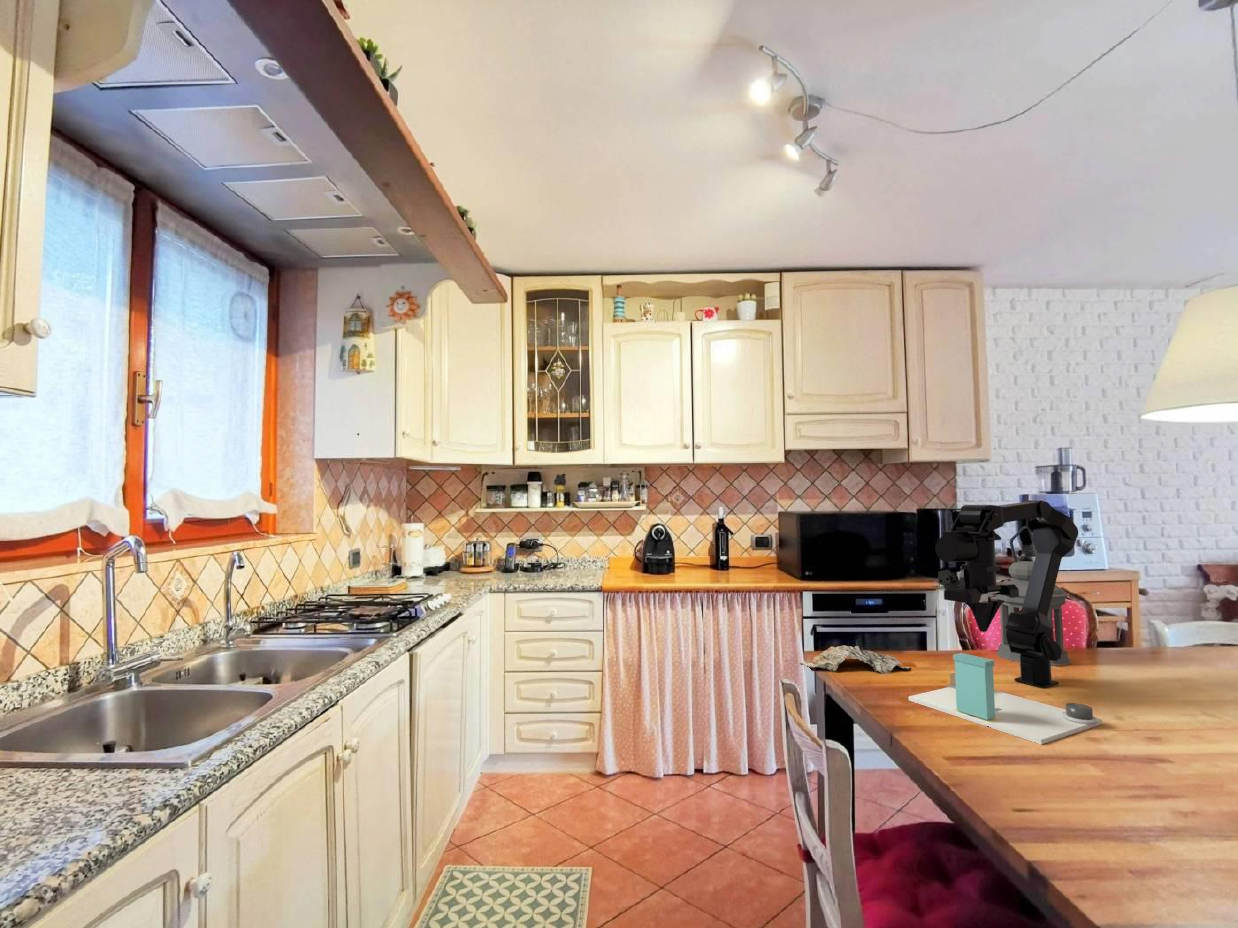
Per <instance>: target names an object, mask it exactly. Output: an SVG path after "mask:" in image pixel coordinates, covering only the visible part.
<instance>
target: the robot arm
mask: <svg viewBox="0 0 1238 928" xmlns="http://www.w3.org/2000/svg"><path fill="white" fill-rule="evenodd" d="M1039 518H1040V519H1039ZM1038 519H1039V520H1038ZM1022 520H1025V526H1026V527H1027V528H1028V529H1029V530H1030V531H1031V535H1032V536H1031V542H1032V545H1033V546H1034V549H1035V551H1036V553H1035V557H1034V561H1033V562H1034V564H1033V568H1032V572H1031V576H1030V579H1029V583H1028V587H1027V591H1026V595H1025V599H1024V603H1023V607H1022V608H1020V611H1019V612H1017V613H1013V612H1011V613H1010V615H1009V618H1008V623H1007V625H1006V627H1005V629H1007V630H1006V638H1007V641H1008V644H1009V648H1010V651H1011V652H1013V653H1018V654H1020V663H1019V664H1020V665H1019V666H1020V676H1019V677H1015V678H1014V680H1013V681H1015V682H1018V683H1021V682H1022V684H1025V683H1026V685H1030V686H1034V687H1037V688H1038V687H1039V688H1042V689H1046V688H1049V687H1053V686H1054V687H1055V686H1057V685H1060V681H1057V680H1053V678H1052V667H1051V661H1058V659H1060V658H1061V653H1062V649H1061V648H1060V647H1059V646H1058V644H1057V643H1056V642H1055V638H1054V639H1053V638H1052V632H1054V628H1053V629H1052V626H1051V624H1050V622H1049V619H1048V611H1049V607H1050V603H1051V599H1052V595H1053V591H1054V587H1055V585H1056V583H1057V579H1058V574H1059V570H1060V566H1061V563H1062V559H1063V558H1064V557H1065V556H1066V555H1068V554H1069V553H1070V552H1071V551H1072V550H1073V549H1074V546H1075V544H1076V541H1077V538H1078V537H1079V529H1078V527H1077V525H1076V524H1075V523H1074V522H1073V521H1072V520H1071V518H1070V517H1069V516H1068V515H1066V514H1065V513H1063V512H1061V511H1059V510H1057V509H1055V508H1053V506H1052V505H1051V504H1050V503H1049V502H1048V501H1045V500H1042V499H1041V500H1039V499H1037V500H1034V499H1033V500H1025V501H1021V502H1014V503H1008V504H1007V503H1006V504H1001V505H1000V504H999V505H997V504H995V505H994V504H964V505H962V506H961V508H960V510H959V512H958V514H957V516H956V518H955V519H954V522H953V524H952V525H951V528H950V530H942V536H941V537H940V538H938V539H937V541H936V544H935V546H934V550H935V553H936V555H937V557H938V559H939V560H940V561H942V562H944V563H958V562H959V563H962V562H963V563H964V562H965V564H961V565H960V568H959V569H960V570H959V571H957V572H956V571H955V572H951V571H950V570H949V569H945V570H944V569H943V570H940V571H938V574H937V575H938V576H937V582H938V584H939V585H940V586H943V588H944V589H943V600H945V601H951V602H957V603H963V604H965V605H967V607H969V608H970V610H971V612H972V615H973V618H974V620H975V622H976V625H977V627H978V630H979V632H982V633H986V632H988V629H989V628H990V625H991V624H992V621H993V620H994V619H995V617H996V614H997V612H999V610H1000V606H1001V604H1002V603H1004V600H998V596H996V595H998V594H1000V595H1006V596H1009V597H1010V598H1015V597H1019V589H1018V588H1017V587H1016V586H1015V585H1014V584H1007V583H1004V582H997V572H999V571H1001V566H1000V565H996V546H995V543H996V542H995V541H1001V540H1002V537H1001V536H1000V535H999V534H998V533H997V532H996V531H995V530H998V529H1000V528H1002V527H1004V524H1007V523H1011V522H1016V521H1017V522H1018V521H1022ZM1027 528H1026V529H1027ZM1028 529H1027V530H1028ZM1029 530H1028V531H1029ZM1030 531H1029V532H1030Z"/></svg>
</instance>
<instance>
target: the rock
mask: <svg viewBox="0 0 1238 928" xmlns="http://www.w3.org/2000/svg"><path fill="white" fill-rule="evenodd" d="M846 658H850V659H854V660H855V659H858V661H861V662H863V663H865V664H868V665H869V666H871V667H872V668H873V670H874V671H875V672H879V673H880V674H882V675H884V674H886V675H888V674H891V672H892V670H893V668H898V669H907V670H909V669H910V666H902V662H901V661H900V660H898V659H897V658H896V657H894V656H893V655H888V654H881V653H877V652H876V651H872V650H864V649H860V646H858V645H856V646H851V645H850V646H847V645H840V646H836V647H835V646H830V647H828V648H827V649H825V650H824V651H822V652H821V653H820V654H818V655H816V656H814V657H813V659H812V660H811V661H812V662H808V661H806V660H802V661H801V662H799V665H800V666H805V667H808V668H811V669H812V668H813V669H814V668H821V669H824V670H825V669H826V670H828V671H830V672H831V673H836V674H837V673H838V671H837V670H838V667H839V665H840V664H841V663H842V662H845V661H846ZM813 662H814V663H813Z"/></svg>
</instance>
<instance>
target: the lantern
mask: <svg viewBox="0 0 1238 928" xmlns="http://www.w3.org/2000/svg"><path fill="white" fill-rule="evenodd" d="M1026 529H1027V530H1028V531H1029V532H1031V531H1030V530H1029V529H1028V528H1027V527H1026V525H1024V526H1022V527H1021V528H1020V529H1019V530H1018V531H1017V532H1016V533H1015V534H1014V535H1013V536H1012V537H1011V538H1010V539H1009V545H1010V550H1011V555H1012V558H1013V561H1014V562H1013V563H1011V565H1010V566H1009V567H1008V574H1009V575H1010V576H1011V577H1012V579H1014V580H1007V581H1004V582H1003V583H1007V584H1014V585H1015V586H1016V587H1017V588H1018V589H1019V597H1015V598H1010V597H1009V596H1006V595H1000V594H998V595H996V596H998V600H1004V603H1002V604H1001V606H1000V608H999V610H1000V611H999V614H1000V616H999V617H1000V631H1001V632H1000V633H1001V634H1000V635H1001V643H999V645H998V650H997V653H996V657H999V658H1001V659H1003V658H1005V659H1004V660H1006V659H1008V660H1012V661H1017V662H1020V654H1018V653H1013V652H1011V651H1010V648H1009V644H1008V641H1007V638H1006V630H1007V629H1005V627H1006V625H1007V623H1008V618H1009V615H1010V613H1011V612H1013V613H1017V612H1019V611H1020V610H1021V609H1022V607H1023V603H1024V599H1025V595H1026V591H1027V587H1028V583H1029V579H1030V576H1031V572H1032V568H1033V564H1034V561H1031V560H1030V561H1028V560H1027V561H1025V560H1024V561H1023V560H1022V561H1021V560H1020V561H1018V558H1017V555H1016V551H1015V547H1014V546H1015V545H1014V540H1016V539H1017V538H1018V536H1019V535H1020V534H1021V533H1022V532H1023V531H1024V530H1026ZM1067 597H1068V592H1065V591H1064V590H1063V588H1061V587H1060V586H1059V585H1056V584H1055V587H1054V591H1053V595H1052V599H1051V603H1050V607H1049V611H1048V619H1049V622H1050V624H1051V626H1052V629H1053V630H1054V631H1053V632H1052V638H1053V639H1054V641H1055V642H1056V643H1057V644H1058V646H1059V647H1060V648H1061V649H1062V653H1061V658H1060V659H1058V661H1051V666H1059V665H1067V666H1071V658H1069V656H1068V655H1069V654H1068V651H1067V650H1065V648H1064V627H1063V612H1062V611H1063V610H1062V609H1063V607H1062V606H1063V605H1066V598H1067ZM1008 660H1007V661H1008ZM1012 661H1011V662H1012ZM1017 662H1016V663H1017ZM1059 667H1060V666H1059Z"/></svg>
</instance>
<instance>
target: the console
mask: <svg viewBox="0 0 1238 928" xmlns="http://www.w3.org/2000/svg"><path fill="white" fill-rule="evenodd" d="M949 678H950V680H949V681H950V683H948V684H946V686H947V687H944V688H938V689H934V690H931V691H927V692H922V693H918V694H913V695H909V696H908V701H910V702H913V703H916V704H919V705H922V706H925V707H928V708H930V709H933V710H937V711H939V712H942V713H945V714H948V715H952V716H955V717H957V718H961V719H962V720H963V719H964V720H967V721H969V722H972V723H976V724H978V725H981V726H984V727H987V726H989V727H988V728H990V727H991V728H990V729H994V730H997V731H999V732H1003V733H1006V734H1009V735H1011V736H1015V737H1017V738H1021V739H1024V740H1027V741H1030V742H1033V743H1035V742H1036V744H1039V745H1044V744H1046V743H1050V742H1053V741H1057V740H1059V739H1062V738H1064V737H1067V736H1070V735H1073V734H1076V733H1080V732H1083V731H1086V730H1088V729H1091V728H1094V727H1098V726H1099V725H1102V724H1103V721H1102V719H1101V718H1097V717H1096V716H1094V715H1093V707H1092V706H1089V705H1086V704H1082V703H1078V702H1066V703H1065V709H1064V708H1060V707H1057V706H1053V705H1050V704H1047V703H1042V702H1038V701H1035V700H1031V699H1028V698H1025V697H1021V696H1018V695H1017V696H1016V695H1013V694H1009V693H1006V692H1002V691H999V690H996V689H994V700H995V718H992V719H989V720H986V719H983V718H980V717H976V716H973V715H970V714H967V713H964V712H961V711H958V710H957V706H956V682H955V672H952V673H950V674H949Z"/></svg>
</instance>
